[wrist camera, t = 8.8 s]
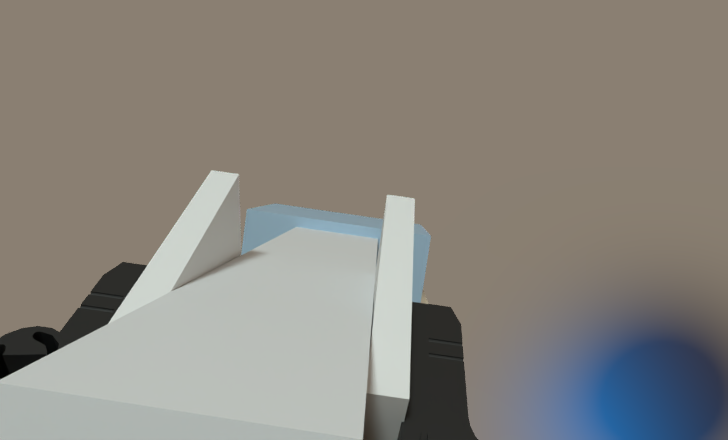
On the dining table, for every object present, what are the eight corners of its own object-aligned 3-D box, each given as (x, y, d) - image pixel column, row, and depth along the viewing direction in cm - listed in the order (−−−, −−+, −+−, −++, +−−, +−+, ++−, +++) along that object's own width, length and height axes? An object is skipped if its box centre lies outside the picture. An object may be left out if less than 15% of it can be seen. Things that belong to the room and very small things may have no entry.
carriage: (543, 781, 6) (607, 430, 6) (-249, 648, 6) (-227, 302, 6) (410, 288, 33) (420, 224, 33) (267, 267, 34) (275, 203, 33)
